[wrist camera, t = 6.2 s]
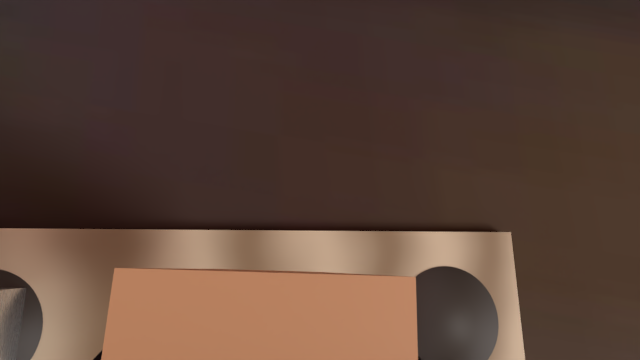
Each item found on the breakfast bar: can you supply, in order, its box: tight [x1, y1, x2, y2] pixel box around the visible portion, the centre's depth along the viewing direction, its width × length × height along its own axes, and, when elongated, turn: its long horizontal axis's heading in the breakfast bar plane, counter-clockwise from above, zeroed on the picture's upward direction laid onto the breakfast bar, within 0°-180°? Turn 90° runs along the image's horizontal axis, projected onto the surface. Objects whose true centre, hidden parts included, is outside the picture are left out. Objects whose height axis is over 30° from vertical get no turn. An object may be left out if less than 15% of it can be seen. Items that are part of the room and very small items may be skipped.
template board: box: [0, 228, 525, 360], centre depth 21 cm, size 33×10×1 cm, turn 90°
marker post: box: [101, 268, 418, 360], centre depth 10 cm, size 4×4×11 cm
